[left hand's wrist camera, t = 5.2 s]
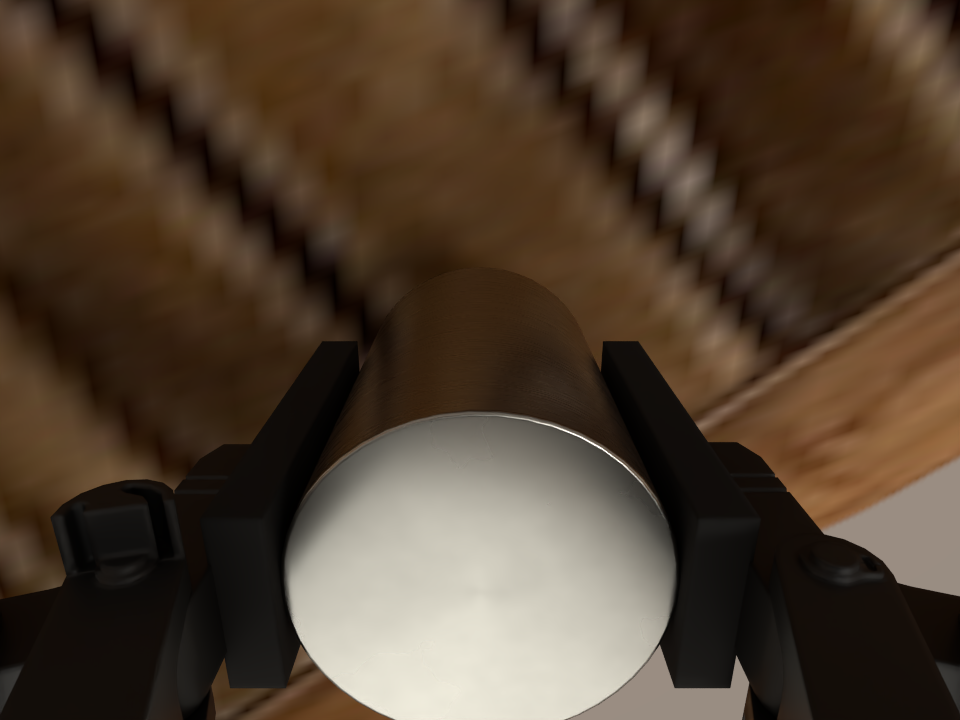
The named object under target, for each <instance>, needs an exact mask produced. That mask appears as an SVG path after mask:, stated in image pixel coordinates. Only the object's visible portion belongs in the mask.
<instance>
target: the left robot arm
mask: <svg viewBox="0 0 960 720" xmlns="http://www.w3.org/2000/svg"><path fill="white" fill-rule="evenodd" d="M601 374H602V376H603V378H604V380H605V382H606V385H607V387H608V389H609V391H610V393H611V395H612V397H613V400H614V402H615V404H616V406H617V408H618V410H619V412H620V415H621V417H622V419H623V421H624V423H625V425H626V427H627V430H628V432H629V434H630V436H631V438H632V440H633V442H634V445H635V447H636V449H637V451H638V453H639V455H640V457H641V460H642V462H643V464H644V466H645V468H646V470H647V472H648V475H649V477H650V479H651V481H652V483H653V485H654V487H655V490H656V492H657V494H658V496H659V498H660V500H661V503H662V505H663V507H664V509H665V511H666V513H667V515H668V518H669V520H670V523H671V526H672V529H673V532H674V535H675V538H676V543H677V549H678V554H679V564H680V581H679V589H678V595H677V602H676V606H675V609H674V613H673V616H672V619H671V622H670V625H669V627H668V629H667V631H666V633H665V635H664V637H663V639H662V641H661V643H660V646H661V649H662V652H663V655H664V658H665V661H666V664H667V667H668V670H669V673H670V675H671V679H672V681H673V684H674V687H675V688H730V687H731V681H732V676H733V670H734V665H735V659H736V655H737V657H738V659H739V661H740V664H741V666H742V668H743V670H744V672H745V674H746V676H747V678H748V681H749V688H748V693H747V698H746V703H745V708H744V713H743V718H742V720H960V596H955V595H950V594H945V593H940V592H935V591H930V590H925V589H921V588H915V587H911V586H907V585H903V584H900V583H897V581H896V579H895V577H894V575H893V574H892V572H891V571H890V570H889V569H888V567H887V566H886V565H885V564H884V562H883V561H882V560H880V559H879V558H878V557H876V556H875V555H873V554H872V553H871V552H869V551H868V550H866V549H865V548H862V547H860V546H858V545H856V544H853V543H851V542H849V541H847V540H844V539H841V538H837V537H832V536H828V535H824V534H823V532H822V531H821V530H820V529H819V528H818V526H817V525H816V524H815V523H814V521H813V520H812V519H811V518H810V517H809V515H808V514H807V513H806V512H805V510H804V509H803V508H802V507H801V506H800V504H799V503H798V502H797V501H796V499H795V498H794V497H793V496H792V494H791V493H790V492H787V490H786V487H785V486H784V485H783V483H782V482H781V481H780V480H779V479H778V477H775V474H774V472H773V471H772V470H771V469H770V468H769V466H768V465H767V464H766V463H765V461H764V460H763V459H762V458H761V457H760V456H759V455H757V454H755V453H754V452H752V451H750V450H749V449H747V448H746V447H744V446H742V445H741V444H739V443H737V442H707V440H706V439H705V437H704V436H703V434H702V433H701V431H700V430H699V429H698V427H697V426H696V424H695V423H694V421H693V420H692V418H691V417H690V416H689V414H688V413H687V411H686V410H685V408H684V407H683V405H682V404H681V403H680V401H679V400H678V398H677V397H676V395H675V394H674V392H673V391H672V389H671V388H670V387H669V385H668V384H667V382H666V381H665V379H664V378H663V376H662V375H661V374H660V372H659V371H658V369H657V368H656V366H655V365H654V363H653V362H652V361H651V359H650V358H649V356H648V355H647V353H646V352H645V350H644V349H643V348H642V346H641V345H640V343H639V342H638V341H603V351H602V365H601ZM358 375H359V358H358V344H357V341H322V342H321V344H320V345H319V347H318V348H317V350H316V351H315V353H314V354H313V355H312V357H311V358H310V360H309V361H308V363H307V364H306V366H305V367H304V368H303V370H302V371H301V373H300V374H299V376H298V377H297V379H296V380H295V381H294V383H293V384H292V386H291V387H290V389H289V390H288V392H287V393H286V394H285V396H284V397H283V399H282V400H281V402H280V403H279V405H278V406H277V408H276V409H275V410H274V412H273V413H272V415H271V416H270V418H269V419H268V421H267V422H266V423H265V425H264V426H263V428H262V429H261V431H260V432H259V434H258V435H257V436H256V438H255V439H254V441H253V442H252V444H224V445H222V446H220V447H219V448H217V449H215V450H214V451H212V452H211V453H209V454H207V455H206V456H204V457H203V458H201V459H200V460H199V461H198V462H197V463H196V465H195V466H194V467H193V468H192V470H191V471H190V472H189V473H188V475H187V476H186V480H183V481H182V482H181V483H180V484H179V486H178V487H177V488H176V489H175V491H174V493H173V490H172V489H171V488H170V487H168V486H167V485H166V484H164V483H162V482H157V481H152V480H148V479H145V480H125V481H120V482H115V483H111V484H106V485H102V486H99V487H97V488H94V489H92V490H89V491H86V492H84V493H81V494H79V495H78V496H76V497H74V498H73V499H71V500H69V501H68V502H66V503H64V504H63V505H62V506H61V507H60V508H59V509H58V510H57V511H56V512H55V513H54V514H53V515H52V516H51V521H52V524H53V528H54V532H55V535H56V539H57V542H58V546H59V550H60V553H61V557H62V560H63V564H64V568H65V571H66V575H67V576H66V578H65V580H64V582H63V584H62V586H61V587H57V588H53V589H49V590H44V591H39V592H34V593H29V594H25V595H20V596H15V597H10V598H5V599H0V720H215V715H216V711H215V704H214V698H213V693H212V688H211V685H212V683H213V681H214V679H215V676H216V674H217V672H218V670H219V668H220V666H221V664H222V662H223V659H224V657H225V662H226V668H227V673H228V679H229V684H230V688H286V686H287V683H288V680H289V677H290V674H291V671H292V668H293V665H294V662H295V659H296V656H297V653H298V650H299V647H300V642H299V641H298V639H297V637H296V634H295V632H294V630H293V628H292V625H291V623H290V621H289V618H288V614H287V611H286V607H285V604H284V600H283V593H282V584H281V557H282V551H283V546H284V541H285V537H286V533H287V530H288V528H289V525H290V522H291V520H292V517H293V515H294V512H295V510H296V508H297V506H298V504H299V501H300V499H301V497H302V495H303V493H304V491H305V488H306V486H307V484H308V482H309V480H310V478H311V476H312V473H313V471H314V469H315V467H316V465H317V463H318V461H319V458H320V456H321V454H322V452H323V450H324V448H325V445H326V443H327V441H328V439H329V437H330V435H331V433H332V430H333V428H334V426H335V424H336V422H337V420H338V418H339V415H340V413H341V411H342V409H343V407H344V405H345V403H346V400H347V398H348V396H349V394H350V392H351V390H352V387H353V385H354V383H355V381H356V379H357V377H358Z"/></svg>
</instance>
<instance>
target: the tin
mask: <svg viewBox="0 0 960 720" xmlns="http://www.w3.org/2000/svg"><path fill="white" fill-rule="evenodd" d="M679 581H680V564H679V554H678V549H677V543H676V538H675V535H674V532H673V529H672V526H671V523H670V520H669V518H668V515H667V513H666V511H665V509H664V507H663V505H662V503H661V500H660V498H659V496H658V494H657V492H656V490H655V487H654V485H653V483H652V481H651V479H650V477H649V475H648V472H647V470H646V468H645V466H644V464H643V462H642V460H641V457H640V455H639V453H638V451H637V449H636V447H635V445H634V442H633V440H632V438H631V436H630V434H629V432H628V430H627V427H626V425H625V423H624V421H623V419H622V417H621V415H620V412H619V410H618V408H617V406H616V404H615V402H614V400H613V397H612V395H611V393H610V391H609V389H608V387H607V385H606V382H605V380H604V378H603V376H602V374H601V372H600V370H599V367H598V365H597V363H596V361H595V359H594V357H593V355H592V352H591V350H590V348H589V346H588V344H587V342H586V340H585V337H584V335H583V333H582V331H581V329H580V327H579V325H578V323H577V322H576V320H575V318H574V317H573V315H572V314H571V312H570V311H569V310H568V308H567V307H566V306H565V305H564V304H563V303H562V302H561V301H560V300H559V298H558V297H557V296H555V295H554V294H553V293H552V292H550V291H549V290H548V289H546V288H545V287H543V286H542V285H540V284H538V283H537V282H535V281H533V280H531V279H529V278H527V277H524V276H522V275H520V274H516V273H513V272H509V271H506V270H500V269H493V268H468V269H459V270H455V271H451V272H447V273H444V274H441V275H438V276H436V277H433V278H431V279H429V280H427V281H425V282H424V283H422V284H420V285H418V286H417V287H415V288H414V289H413V290H411V291H410V292H409V293H407V294H406V295H405V296H404V297H403V298H402V299H401V300H400V301H399V302H398V303H397V304H396V305H395V306H394V307H393V309H392V310H391V311H390V313H389V314H388V315H387V317H386V319H385V320H384V322H383V324H382V326H381V327H380V329H379V332H378V334H377V336H376V338H375V340H374V342H373V344H372V347H371V349H370V351H369V353H368V355H367V357H366V360H365V362H364V364H363V366H362V368H361V370H360V372H359V375H358V377H357V379H356V381H355V383H354V385H353V387H352V390H351V392H350V394H349V396H348V398H347V400H346V403H345V405H344V407H343V409H342V411H341V413H340V415H339V418H338V420H337V422H336V424H335V426H334V428H333V430H332V433H331V435H330V437H329V439H328V441H327V443H326V445H325V448H324V450H323V452H322V454H321V456H320V458H319V461H318V463H317V465H316V467H315V469H314V471H313V473H312V476H311V478H310V480H309V482H308V484H307V486H306V488H305V491H304V493H303V495H302V497H301V499H300V501H299V504H298V506H297V508H296V510H295V512H294V515H293V517H292V520H291V522H290V525H289V528H288V530H287V533H286V537H285V541H284V546H283V551H282V557H281V584H282V593H283V600H284V604H285V607H286V611H287V614H288V618H289V621H290V623H291V625H292V628H293V630H294V632H295V634H296V637H297V639H298V641H299V642H300V644H301V645H302V647H303V648H304V650H305V652H306V653H307V655H308V656H309V658H310V659H311V660H312V661H313V662H314V664H315V665H316V666H317V667H318V668H319V670H320V671H321V672H322V673H323V674H324V675H325V676H326V677H327V678H328V679H329V680H330V681H331V682H333V683H334V684H335V685H336V686H337V687H338V688H339V689H340V690H342V691H343V692H345V693H346V694H347V695H349V696H350V697H352V698H353V699H354V700H356V701H357V702H359V703H361V704H362V705H364V706H366V707H368V708H369V709H371V710H373V711H375V712H377V713H379V714H381V715H384V716H386V717H388V718H391V719H393V720H567V719H570V718H572V717H575V716H577V715H580V714H582V713H583V712H585V711H587V710H589V709H591V708H593V707H595V706H597V705H599V704H600V703H602V702H603V701H604V700H606V699H607V698H609V697H610V696H612V695H613V694H615V693H616V692H617V691H619V690H620V689H621V688H622V687H623V686H624V685H626V684H627V683H628V682H629V681H630V680H631V679H633V678H634V677H635V676H636V674H637V673H638V672H639V671H640V670H641V669H642V668H643V667H644V666H645V664H646V663H647V662H648V661H649V659H650V658H651V657H652V655H653V654H654V652H655V651H656V649H657V648H658V646H659V645H660V643H661V641H662V639H663V637H664V635H665V633H666V631H667V629H668V627H669V625H670V622H671V619H672V616H673V613H674V609H675V606H676V602H677V595H678V589H679Z"/></svg>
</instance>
